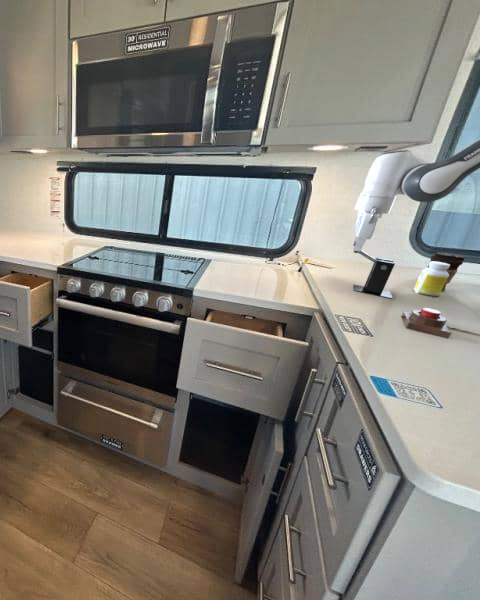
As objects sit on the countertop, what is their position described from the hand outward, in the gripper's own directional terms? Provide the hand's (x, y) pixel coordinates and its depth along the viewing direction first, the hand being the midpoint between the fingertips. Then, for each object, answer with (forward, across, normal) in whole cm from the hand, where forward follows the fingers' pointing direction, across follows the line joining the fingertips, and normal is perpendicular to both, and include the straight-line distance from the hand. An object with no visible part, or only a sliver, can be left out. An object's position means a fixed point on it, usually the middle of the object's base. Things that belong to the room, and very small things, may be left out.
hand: (356, 248), depth 110 cm
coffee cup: (+14, +26, -27) cm, 40 cm away
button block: (+14, -23, -18) cm, 33 cm away
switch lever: (+3, 0, -4) cm, 5 cm away
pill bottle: (+14, +13, -23) cm, 30 cm away
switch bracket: (+14, 0, -8) cm, 16 cm away
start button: (+11, -23, -18) cm, 31 cm away
